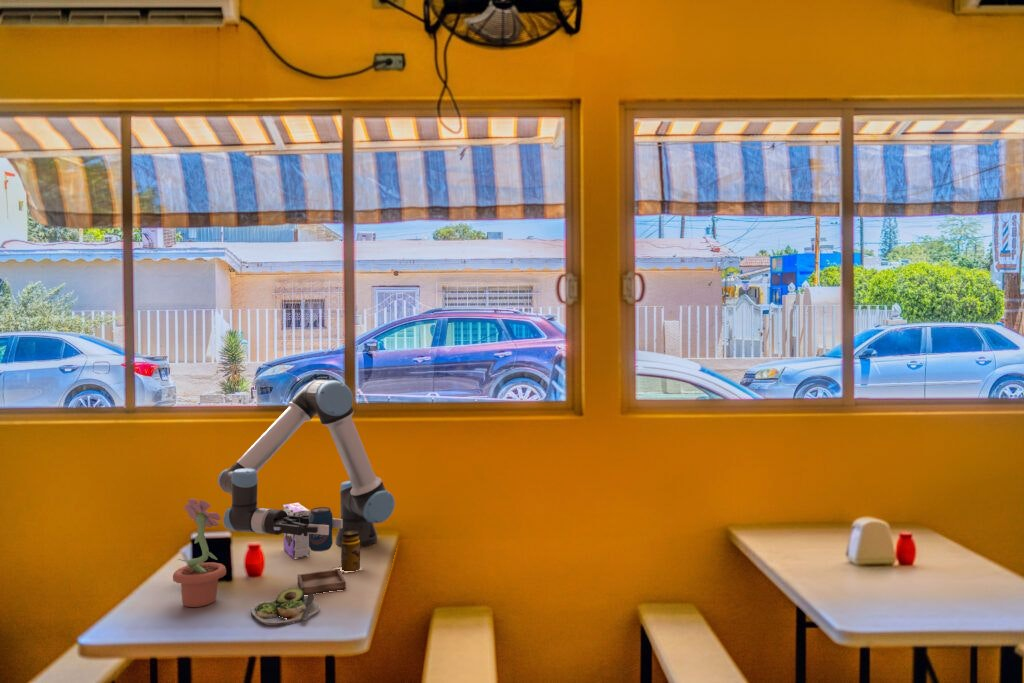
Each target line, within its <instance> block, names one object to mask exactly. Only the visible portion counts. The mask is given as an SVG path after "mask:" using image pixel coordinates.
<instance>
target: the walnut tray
mask: <svg viewBox="0 0 1024 683" xmlns="http://www.w3.org/2000/svg"><path fill="white" fill-rule="evenodd" d="M343 575H344V574H342V573H341V571H340V569H335V570H333V569H329V570H320V571H315V572H307V573H299V574H298V573H297V585H298V588H300V589H301V590H303V592H304V595H309V594H316V593H322V594H324V593H323V592H329V591H336V592H338V591H337V590H343V591H345V590H344V589H346V587H347V586H346V583H347V582H346V580H345V579H346V578H344V576H343ZM346 590H347V589H346ZM329 593H330V592H329ZM316 595H317V594H316Z"/></svg>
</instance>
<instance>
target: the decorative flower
mask: <svg viewBox="0 0 1024 683" xmlns="http://www.w3.org/2000/svg"><path fill="white" fill-rule="evenodd" d="M210 507H211V504H210V503H209V502H208V501H205V500H202V499H200V500H199V501H198V499H196V498H189V499H188V500H187V503H186V504H185V506H184V510H186V512H187V514H188V516H189V518H190V519H191V520H193V523H195V524H197V530H196V531H197V535H196V537H195V539H194V544H198V543H199V546H200V549H201V553H202V554H201V556H198V557H196V558H195V557H194V558H191V559H189V560H185V559H184V560H183V559H182V558H181V559H179V558H178V559H177V560H179V561H183V562H187V565H185V566H182V567H179V568H177V570H175V571H174V572H173V574H172V581H173V582H175V583H177V584H180V586H181V587H180V588H181V601H182V605H184V606H185V607H188V608H199V607H204V606H208V605H210V604H212V603H214V602H215V601H216V598H217V596H218V595H217V592H218V585H219V584H218V583H219V579H221V578H224V576H226V575H227V568H226V566H225V565H224V564H223V563H220V562H219V563H218V562H213V561H211V562H206V561H207V560H208V559H209V557H210V558H211V559H212V560H213V559H214V560H215V561H216V560H217V561H218V558H217V557H216V556H215V555H214V554H213V553H212V552H211V551H209V549H210V548H209V546H208V542H207V540H206V536H205V528H211V527H218V526H219V525H220V523H219V522H218V521H221V516H220V514H219V513H218V512H208V511H207V510H209V508H210Z"/></svg>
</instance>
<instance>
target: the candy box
mask: <svg viewBox="0 0 1024 683" xmlns="http://www.w3.org/2000/svg"><path fill="white" fill-rule="evenodd" d="M282 510H284V511H285V512H286V513H287V515H288V516H289V515H295V516H298V515H299V514H305V515H310V513H311V509H309V508H307V507H305V506H304V505H302V504H301V503H300V502H294V503H287V504H283V508H282ZM283 550H285V551H284V552H285V553H287V555H288V556H290V557H291V559H293V560H296V559H295V558H299V559H302V558H301V557H306V558H309V557H310V550H311V549H310V547H309V533H308V536H304V534H303V533H302V535H294V534H286V533H283ZM308 556H309V557H308Z"/></svg>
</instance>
